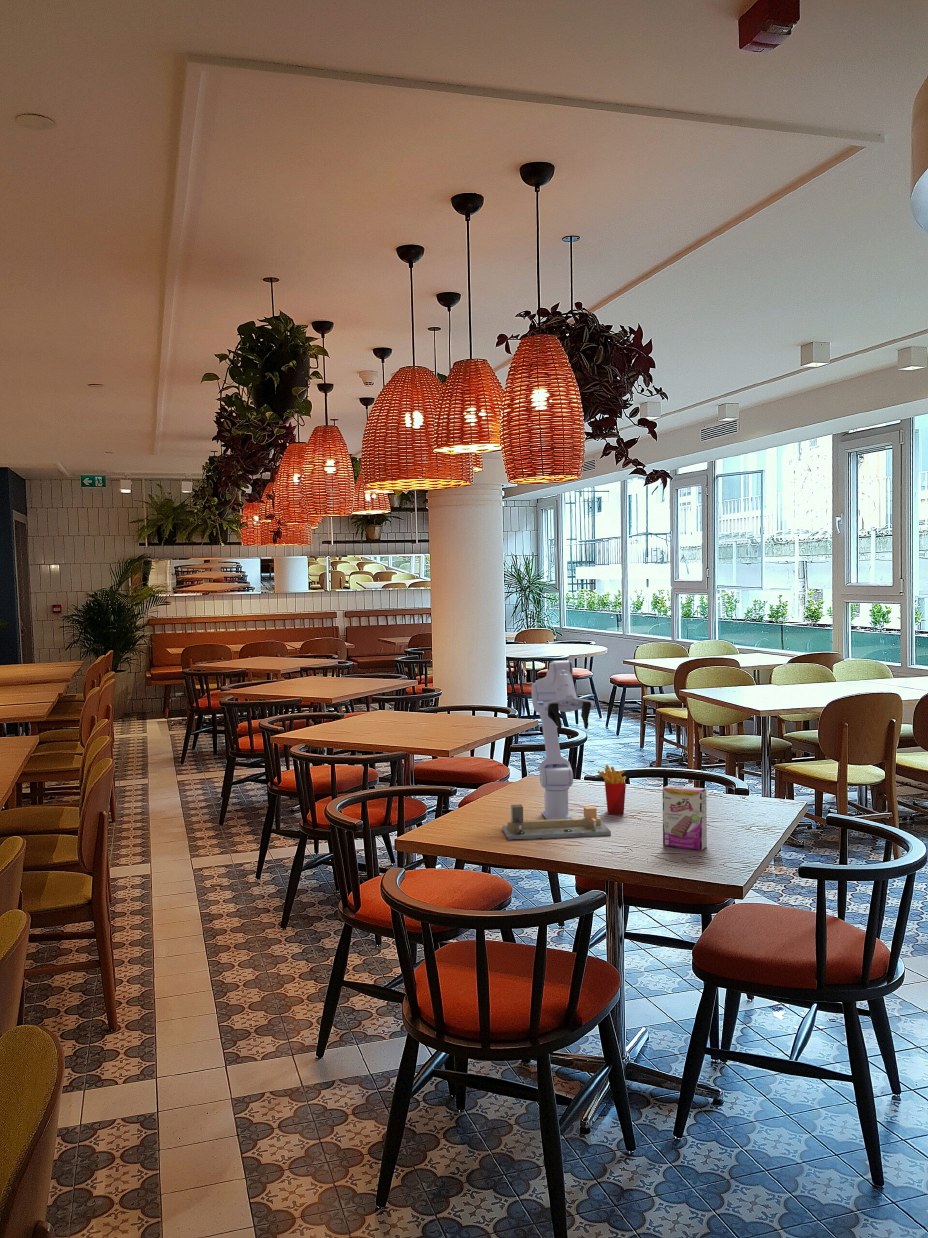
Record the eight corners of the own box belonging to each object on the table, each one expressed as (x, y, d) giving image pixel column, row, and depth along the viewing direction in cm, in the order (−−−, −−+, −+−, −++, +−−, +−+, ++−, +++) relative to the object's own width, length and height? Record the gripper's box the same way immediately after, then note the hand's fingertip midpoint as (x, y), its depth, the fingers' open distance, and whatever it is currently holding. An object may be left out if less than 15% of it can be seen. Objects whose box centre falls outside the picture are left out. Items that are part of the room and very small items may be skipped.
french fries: (625, 810, 305) (624, 764, 305) (627, 816, 297) (626, 769, 297) (597, 810, 306) (597, 764, 306) (598, 816, 298) (598, 769, 298)
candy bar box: (662, 846, 263) (661, 787, 262) (668, 842, 267) (667, 784, 266) (702, 851, 257) (701, 791, 256) (707, 847, 261) (706, 787, 261)
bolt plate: (502, 829, 284) (502, 804, 284) (601, 825, 287) (600, 800, 287) (508, 840, 272) (507, 813, 272) (610, 835, 275) (610, 809, 275)
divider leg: (583, 822, 285) (583, 806, 285) (594, 821, 285) (594, 806, 285) (589, 828, 277) (589, 812, 277) (600, 828, 278) (600, 812, 277)
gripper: (542, 683, 277) (549, 718, 267) (591, 682, 278) (600, 717, 268) (540, 700, 282) (547, 735, 272) (588, 698, 283) (597, 733, 273)
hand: (573, 727), depth 270 cm, fingers open, 7 cm apart
